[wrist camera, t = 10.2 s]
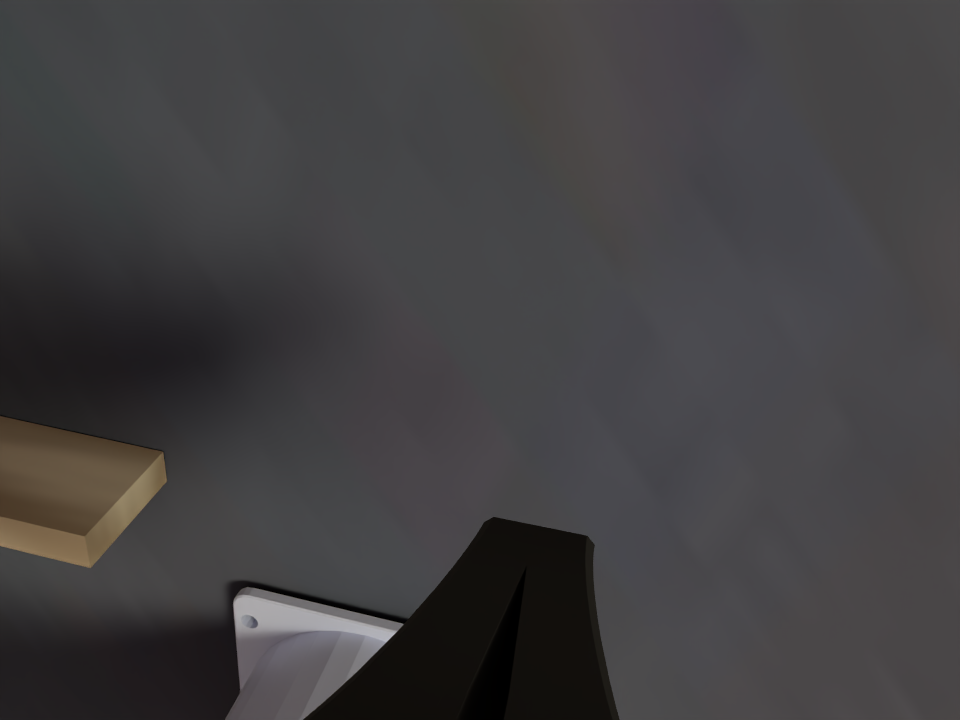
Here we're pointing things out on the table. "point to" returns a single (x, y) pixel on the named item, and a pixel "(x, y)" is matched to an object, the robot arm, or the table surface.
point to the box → (70, 490)
